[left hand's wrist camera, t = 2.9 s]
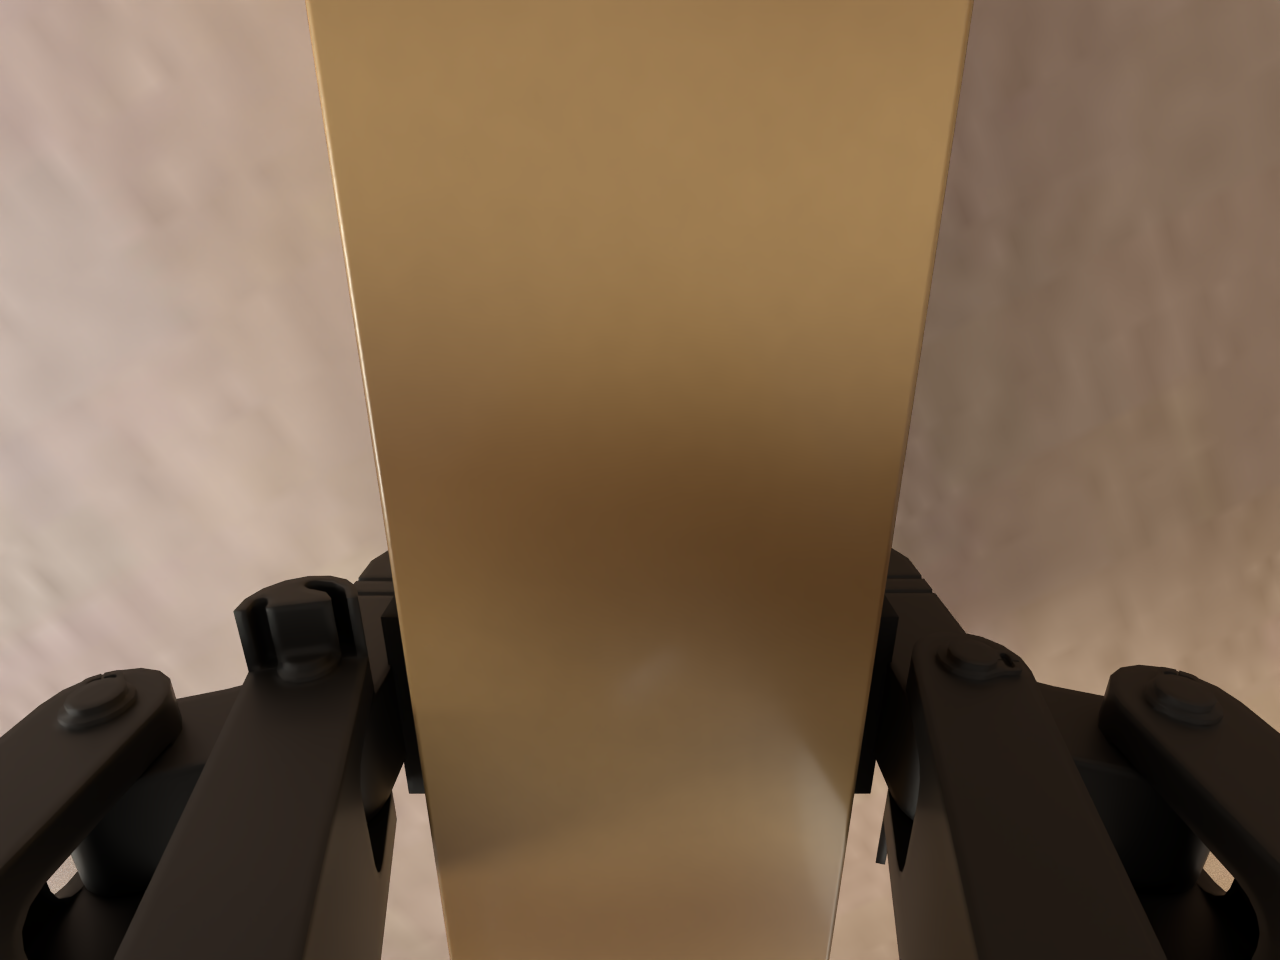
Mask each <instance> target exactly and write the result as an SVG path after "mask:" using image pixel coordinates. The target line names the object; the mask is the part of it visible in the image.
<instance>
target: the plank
mask: <svg viewBox="0 0 1280 960" xmlns="http://www.w3.org/2000/svg"><path fill="white" fill-rule="evenodd" d="M305 3H306V10H307V16H308V23H309V30H310V36H311V43H312V49H313V56H314V63H315V69H316V76H317V83H318V89H319V96H320V102H321V109H322V116H323V122H324V129H325V135H326V142H327V149H328V155H329V162H330V168H331V175H332V182H333V188H334V195H335V201H336V208H337V215H338V221H339V228H340V234H341V241H342V248H343V254H344V261H345V268H346V274H347V281H348V287H349V294H350V301H351V307H352V314H353V320H354V327H355V334H356V340H357V347H358V353H359V360H360V367H361V373H362V380H363V386H364V393H365V400H366V406H367V413H368V419H369V426H370V433H371V439H372V446H373V453H374V459H375V466H376V472H377V479H378V486H379V492H380V499H381V505H382V512H383V519H384V525H385V532H386V538H387V545H388V552H389V558H390V565H391V571H392V578H393V585H394V591H395V598H396V604H397V611H398V618H399V624H400V631H401V638H402V644H403V651H404V657H405V664H406V671H407V677H408V684H409V690H410V697H411V704H412V710H413V717H414V723H415V730H416V737H417V743H418V750H419V756H420V763H421V770H422V776H423V783H424V789H425V796H426V803H427V809H428V816H429V822H430V829H431V836H432V842H433V849H434V856H435V862H436V869H437V875H438V882H439V889H440V895H441V902H442V908H443V915H444V922H445V928H446V935H447V941H448V948H449V955H450V960H829V958H830V951H831V944H832V938H833V931H834V924H835V918H836V911H837V905H838V898H839V891H840V885H841V878H842V871H843V865H844V858H845V851H846V845H847V838H848V832H849V825H850V818H851V812H852V805H853V798H854V792H855V785H856V779H857V772H858V765H859V759H860V752H861V745H862V739H863V732H864V726H865V719H866V712H867V706H868V699H869V692H870V686H871V679H872V673H873V666H874V659H875V653H876V646H877V639H878V633H879V626H880V619H881V613H882V606H883V600H884V593H885V586H886V580H887V573H888V566H889V560H890V553H891V547H892V540H893V533H894V527H895V520H896V513H897V507H898V500H899V494H900V487H901V480H902V474H903V467H904V460H905V454H906V447H907V441H908V434H909V427H910V421H911V414H912V407H913V401H914V394H915V387H916V381H917V374H918V368H919V361H920V354H921V348H922V341H923V334H924V328H925V321H926V315H927V308H928V301H929V295H930V288H931V281H932V275H933V268H934V262H935V255H936V248H937V242H938V235H939V228H940V222H941V215H942V209H943V202H944V195H945V189H946V182H947V175H948V169H949V162H950V155H951V149H952V142H953V136H954V129H955V122H956V116H957V109H958V102H959V96H960V89H961V83H962V76H963V69H964V63H965V56H966V49H967V43H968V36H969V30H970V23H971V16H972V10H973V3H974V0H305Z"/></svg>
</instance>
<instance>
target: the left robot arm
mask: <svg viewBox="0 0 1280 960" xmlns="http://www.w3.org/2000/svg"><path fill="white" fill-rule="evenodd" d="M234 615H235V619H236V623H237V627H238V631H239V635H240V639H241V643H242V647H243V651H244V655H245V659H246V663H247V667H248V671H249V673H248V675H247V677H246V679H245V681H244V683H243V685H241V686H237V687H233V688H230V689H225V690H220V691H215V692H210V693H205V694H200V695H195V696H190V697H185V698H179V699H176V697H175V694H174V690H173V687H172V684H171V681H170V678H168V677H167V676H166V675H165V674H163V673H162V672H161V671H158V670H151V669H144V668H137V669H127V670H116V671H111V672H106V673H104V674H103V675H101V674H99V675H96V676H93V677H90V678H87V679H85V680H84V681H82V682H80V683H78V684H76V685H73V686H71V687H69V688H67V689H64V690H62V691H61V692H59V693H58V694H56V695H55V696H53V697H52V698H50V699H49V700H47V701H46V702H44V703H43V704H41V705H40V706H38V707H37V708H36V709H35V710H34V711H32V712H31V713H30V714H29V715H27V716H26V717H25V718H24V719H23V720H21V721H20V722H19V723H18V724H16V725H15V726H14V727H13V728H12V729H10V730H9V731H8V732H7V733H5V734H4V735H3V736H2V737H0V960H381V953H382V944H383V935H384V926H385V918H386V909H387V900H388V891H389V882H390V874H391V865H392V856H393V847H394V838H395V830H396V821H397V818H396V811H395V805H394V799H393V793H392V789H393V786H394V784H395V782H396V779H397V777H398V775H399V772H400V770H401V768H402V765H403V763H404V765H405V771H406V777H407V783H408V789H409V794H425V789H424V783H423V776H422V770H421V763H420V756H419V750H418V743H417V737H416V730H415V723H414V717H413V710H412V704H411V697H410V690H409V684H408V677H407V671H406V664H405V657H404V651H403V644H402V638H401V631H400V624H399V618H398V611H397V604H396V598H395V591H394V585H393V578H392V571H391V565H390V558H389V552H388V551H386V552H385V553H383V554H382V555H380V556H378V557H377V558H375V559H374V560H372V561H371V562H370V564H369V565H368V566H367V567H366V569H365V570H364V571H363V573H362V574H361V575H360V577H359V581H356V582H355V583H354V584H352V583H351V582H349V581H348V580H347V579H342V578H338V577H333V576H307V577H302V578H296V579H291V580H286V581H283V582H280V583H277V584H274V585H272V586H269V587H266V588H263V589H262V590H260V591H258V592H256V593H255V594H253V595H251V596H250V597H248V598H246V599H245V600H244V601H243V602H242V603H241V604H240V605H239V606H238V607H237V608H236V609H235V610H234ZM876 760H877V763H878V765H879V767H880V770H881V772H882V774H883V777H884V779H885V781H886V784H887V786H888V793H887V799H886V805H885V811H884V816H883V822H882V828H881V834H880V839H879V845H878V851H877V858H876V863H880V864H885V861H886V856H887V854H888V863H889V872H890V881H891V889H892V898H893V907H894V916H895V925H896V933H897V942H898V951H899V960H1280V733H1278V732H1277V731H1276V730H1275V729H1274V728H1272V727H1271V726H1270V725H1269V724H1267V723H1266V722H1265V721H1264V720H1262V719H1261V718H1260V717H1259V716H1258V715H1256V714H1255V713H1254V712H1253V711H1251V710H1250V709H1249V708H1248V707H1246V706H1245V705H1244V704H1243V703H1241V702H1240V701H1239V700H1237V699H1236V698H1234V697H1232V696H1231V695H1229V694H1228V693H1226V692H1225V691H1223V690H1222V689H1220V688H1219V687H1217V686H1215V685H1212V684H1210V683H1208V682H1205V681H1203V680H1201V679H1199V678H1197V677H1196V676H1194V675H1192V674H1189V673H1186V672H1182V671H1179V672H1178V671H1176V670H1175V669H1171V668H1166V667H1155V666H1145V665H1135V666H1128V667H1122V668H1120V669H1118V670H1117V671H1116V672H1114V673H1113V674H1112V675H1110V679H1109V682H1108V685H1107V689H1106V692H1105V695H1104V696H1101V695H1096V694H1091V693H1085V692H1080V691H1075V690H1070V689H1065V688H1060V687H1055V686H1050V685H1047V684H1043V683H1039V682H1036V680H1035V678H1034V676H1033V674H1032V671H1031V670H1030V669H1029V667H1028V666H1027V665H1026V664H1025V662H1024V661H1023V660H1022V659H1021V658H1020V657H1019V656H1018V655H1016V654H1015V653H1013V652H1012V651H1010V650H1009V649H1007V648H1006V647H1004V646H1003V645H1000V644H998V643H995V642H993V641H991V640H988V639H986V638H983V637H980V636H975V635H971V634H966V633H965V631H964V630H963V629H962V628H961V626H960V625H959V624H958V622H957V621H956V620H955V618H954V617H953V616H952V615H951V613H950V612H949V611H948V609H947V608H946V607H945V605H944V604H943V603H942V602H941V600H940V599H939V598H938V596H937V595H936V594H935V593H932V589H931V587H930V586H929V585H928V583H927V582H926V581H925V580H924V579H922V578H921V574H920V573H919V572H918V570H917V569H916V568H915V567H914V565H913V564H912V563H911V561H910V560H909V559H908V558H907V557H905V556H904V555H902V554H900V553H899V552H897V551H895V550H894V549H892V548H891V553H890V560H889V566H888V573H887V580H886V586H885V593H884V600H883V606H882V613H881V619H880V626H879V633H878V639H877V646H876V653H875V659H874V666H873V673H872V679H871V686H870V692H869V699H868V706H867V712H866V719H865V726H864V732H863V739H862V745H861V752H860V759H859V765H858V772H857V779H856V785H855V792H854V794H870V793H871V787H872V781H873V774H874V768H875V762H876ZM1210 851H1211V852H1212V853H1213V855H1214V856H1215V857H1216V858H1217V859H1218V860H1219V861H1220V862H1221V863H1222V865H1223V866H1224V867H1225V868H1226V869H1227V870H1228V871H1229V872H1230V873H1231V875H1232V876H1233V877H1234V881H1233V883H1232V885H1231V887H1230V889H1229V890H1228V891H1227V892H1226V891H1224V890H1223V889H1222V888H1221V887H1220V886H1218V885H1217V884H1216V883H1215V882H1214V881H1213V880H1212V878H1211V877H1210V876H1209V875H1208V874H1207V873H1206V871H1205V870H1204V869H1203V866H1204V864H1205V862H1206V859H1207V857H1208V855H1209V852H1210ZM70 855H71V856H72V858H73V861H74V863H75V866H76V868H77V870H78V871H77V873H76V874H75V875H74V876H73V877H72V878H71V880H70V881H69V882H68V883H67V884H66V885H65V886H64V887H63V888H62V889H60V890H59V891H58V892H57V893H56V894H53V893H52V892H51V891H50V889H49V887H48V884H47V880H48V879H49V878H50V877H51V876H52V875H53V874H54V873H55V871H56V870H57V869H58V868H59V867H60V866H61V865H62V864H63V862H64V861H65V860H66V859H67V858H68V857H69V856H70Z"/></svg>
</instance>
